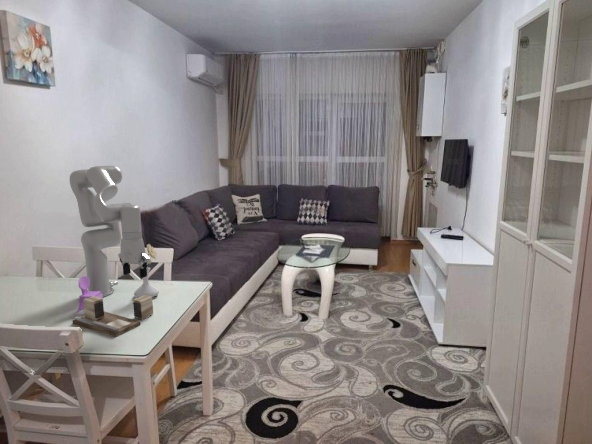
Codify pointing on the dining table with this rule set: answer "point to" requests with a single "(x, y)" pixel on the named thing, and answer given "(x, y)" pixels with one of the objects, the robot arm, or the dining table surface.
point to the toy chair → (86, 291)
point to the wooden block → (143, 307)
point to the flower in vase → (146, 287)
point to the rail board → (103, 319)
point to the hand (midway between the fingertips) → (135, 275)
